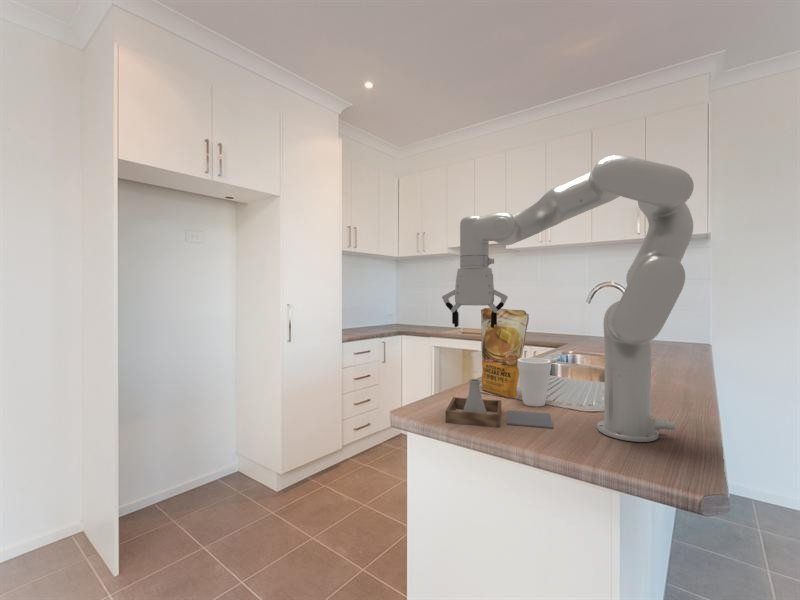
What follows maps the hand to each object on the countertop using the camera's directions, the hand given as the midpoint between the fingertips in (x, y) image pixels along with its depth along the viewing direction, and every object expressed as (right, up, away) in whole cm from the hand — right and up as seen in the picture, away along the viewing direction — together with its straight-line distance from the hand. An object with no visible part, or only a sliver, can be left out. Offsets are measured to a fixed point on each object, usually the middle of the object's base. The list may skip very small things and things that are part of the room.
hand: (474, 327), depth 106 cm
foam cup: (+20, -24, +12) cm, 34 cm away
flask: (0, -25, +1) cm, 25 cm away
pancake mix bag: (+13, -24, +25) cm, 37 cm away
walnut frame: (0, -24, +1) cm, 24 cm away
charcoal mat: (+14, -24, -2) cm, 28 cm away
